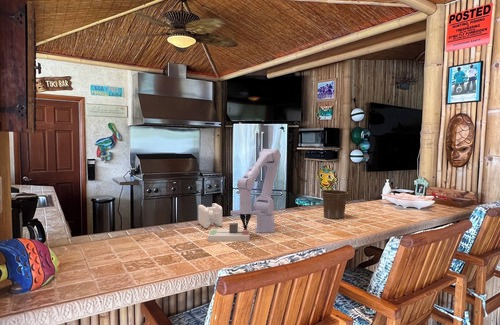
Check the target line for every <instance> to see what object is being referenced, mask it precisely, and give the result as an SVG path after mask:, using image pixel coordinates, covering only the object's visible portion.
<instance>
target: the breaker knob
mask: <svg viewBox="0 0 500 325" xmlns="http://www.w3.org/2000/svg"><path fill="white" fill-rule="evenodd" d="M228 229H229V233H238V229H239V223H237V222H235V223H234V222H232V223H229V227H228Z"/></svg>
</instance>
